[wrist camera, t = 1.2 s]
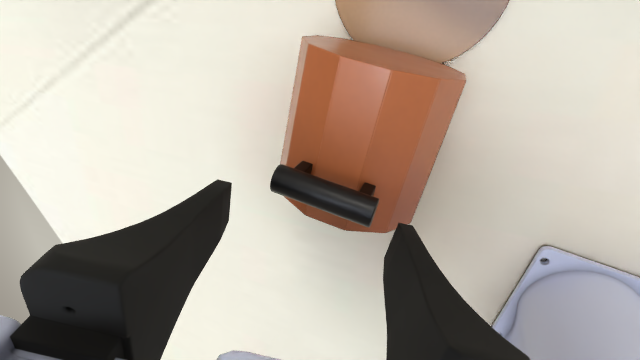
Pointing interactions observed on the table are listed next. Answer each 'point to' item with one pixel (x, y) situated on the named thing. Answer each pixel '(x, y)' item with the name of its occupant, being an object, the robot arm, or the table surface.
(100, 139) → the table surface
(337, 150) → the pot
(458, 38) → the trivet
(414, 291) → the robot arm
